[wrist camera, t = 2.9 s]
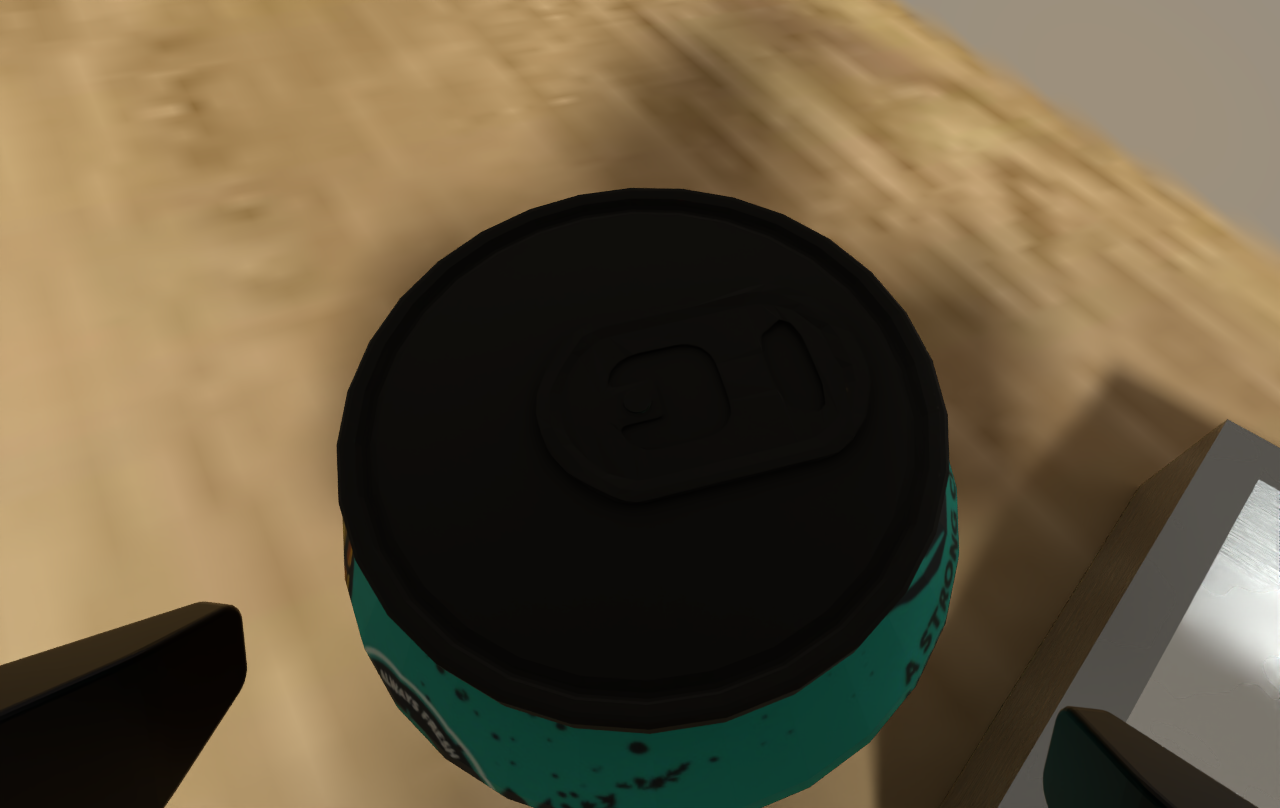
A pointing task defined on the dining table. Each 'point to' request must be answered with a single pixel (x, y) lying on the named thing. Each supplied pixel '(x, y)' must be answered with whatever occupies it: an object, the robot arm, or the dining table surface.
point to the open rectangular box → (1164, 633)
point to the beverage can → (648, 504)
